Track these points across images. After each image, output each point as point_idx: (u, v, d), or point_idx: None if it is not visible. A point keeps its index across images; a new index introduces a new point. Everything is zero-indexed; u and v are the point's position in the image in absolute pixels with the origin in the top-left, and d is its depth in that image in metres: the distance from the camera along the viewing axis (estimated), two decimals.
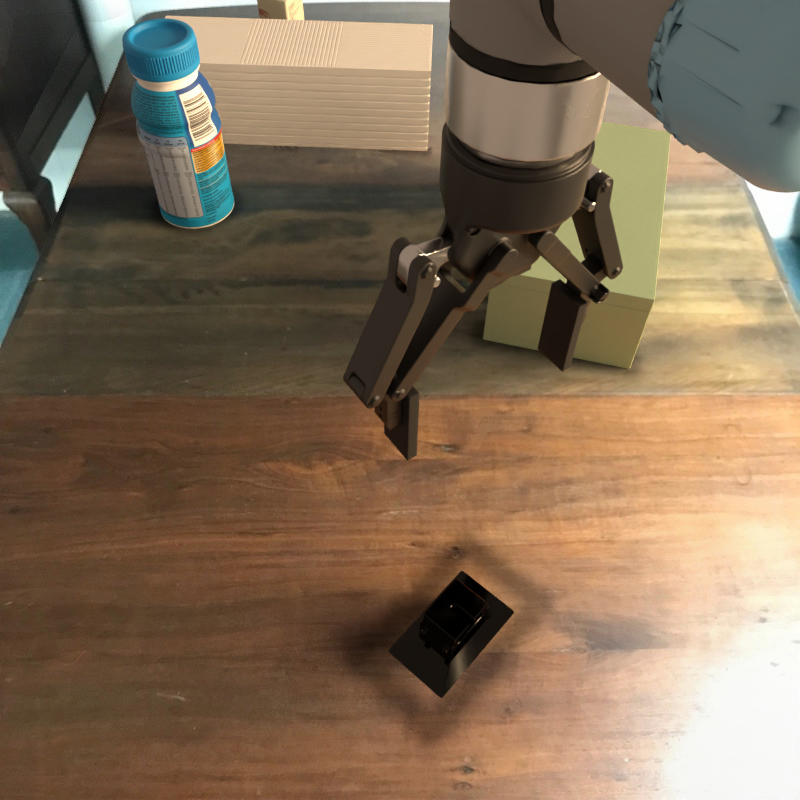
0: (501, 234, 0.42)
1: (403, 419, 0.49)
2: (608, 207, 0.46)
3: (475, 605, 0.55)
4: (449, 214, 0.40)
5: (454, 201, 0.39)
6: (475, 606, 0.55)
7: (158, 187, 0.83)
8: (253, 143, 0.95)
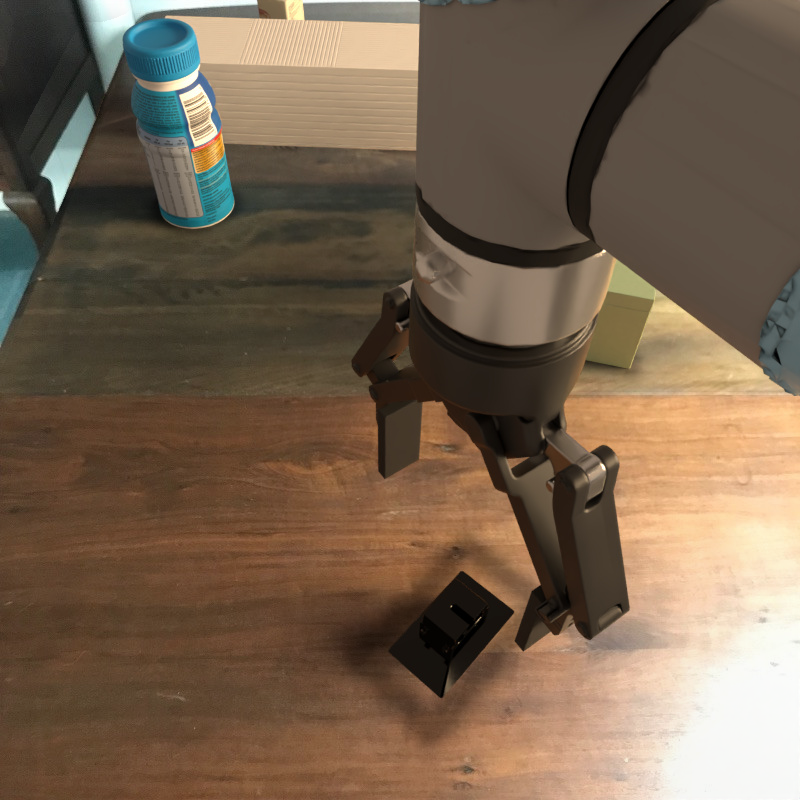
0: None
1: None
2: None
3: (475, 605, 0.55)
4: (546, 412, 0.32)
5: (556, 393, 0.31)
6: (475, 606, 0.55)
7: (158, 187, 0.83)
8: (253, 143, 0.95)
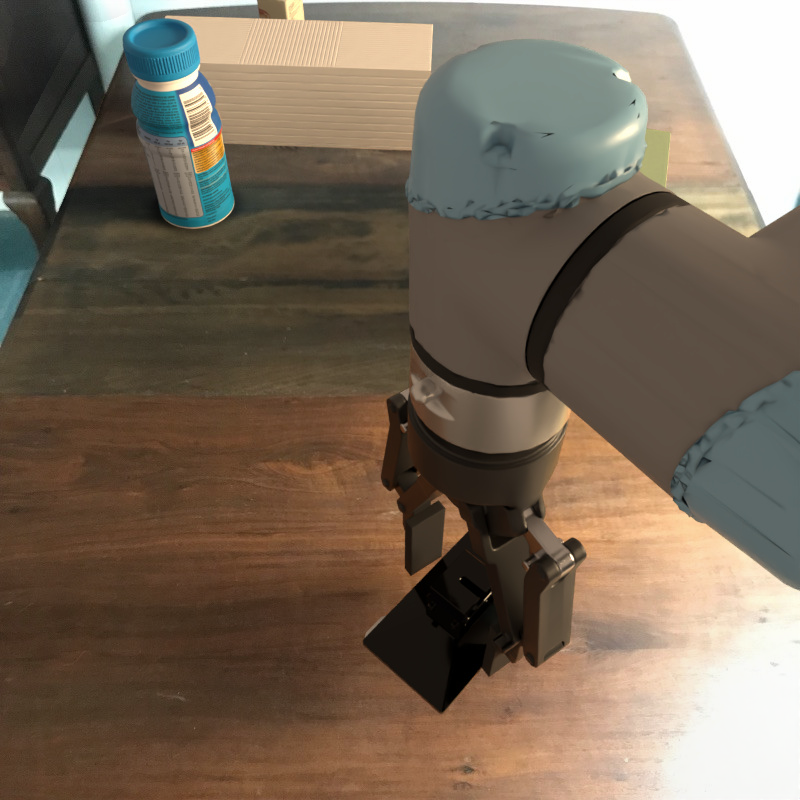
0: None
1: None
2: None
3: (486, 578, 0.51)
4: (526, 501, 0.37)
5: (533, 486, 0.37)
6: (486, 579, 0.51)
7: (158, 187, 0.83)
8: (253, 143, 0.95)
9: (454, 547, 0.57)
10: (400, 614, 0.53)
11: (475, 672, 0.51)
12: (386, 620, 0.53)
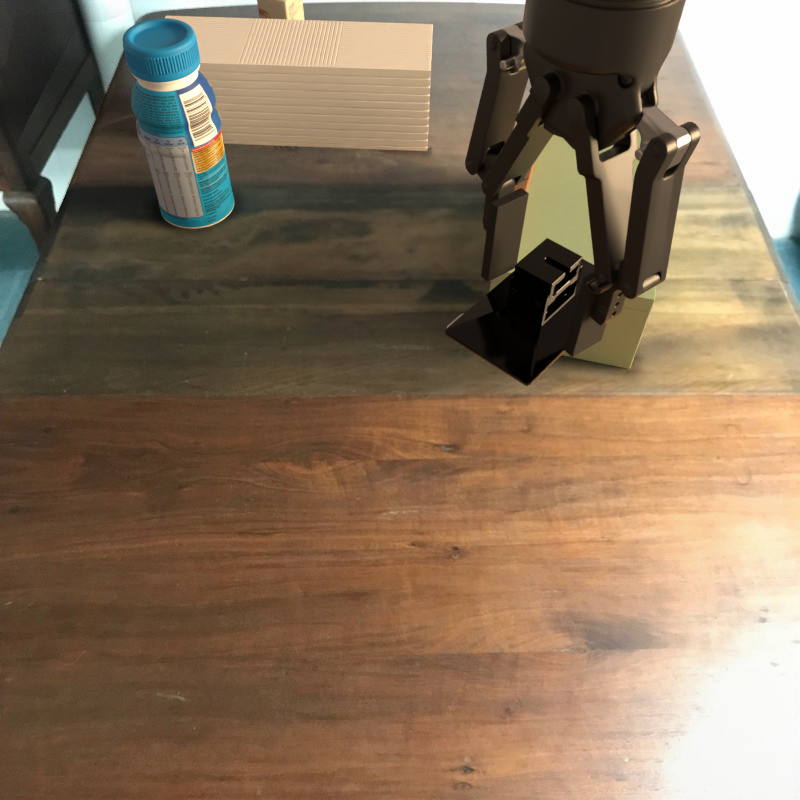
0: None
1: None
2: None
3: (570, 258, 0.52)
4: (645, 74, 0.38)
5: (654, 53, 0.37)
6: (570, 259, 0.51)
7: (158, 187, 0.83)
8: (253, 143, 0.95)
9: None
10: (480, 309, 0.54)
11: (558, 353, 0.52)
12: (467, 314, 0.54)
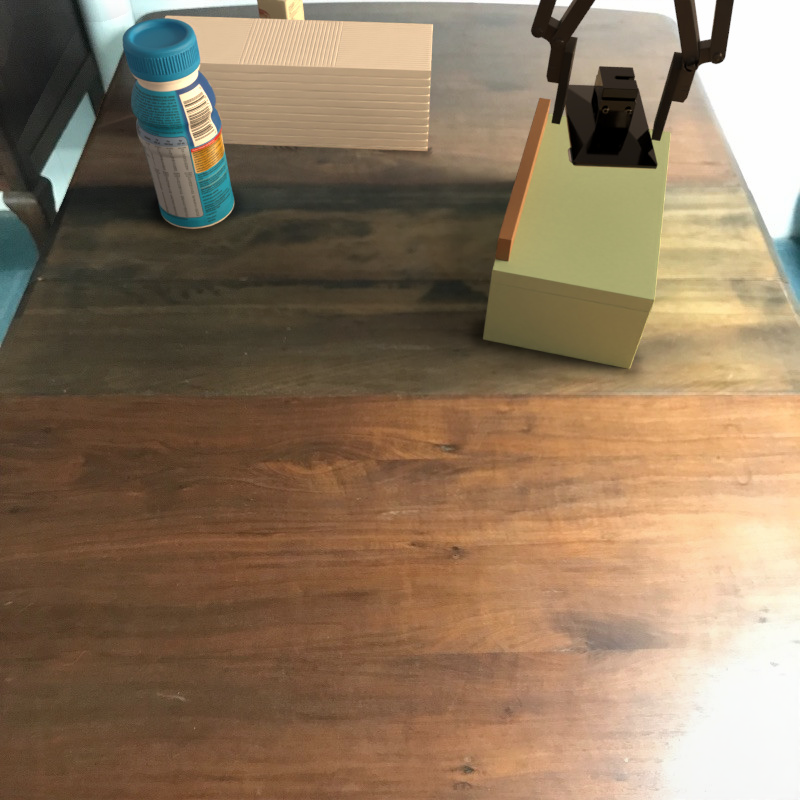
0: None
1: None
2: None
3: (627, 71, 0.67)
4: None
5: None
6: (628, 71, 0.67)
7: (158, 187, 0.83)
8: (253, 143, 0.95)
9: (566, 100, 0.72)
10: (579, 139, 0.68)
11: (651, 142, 0.68)
12: (574, 146, 0.67)
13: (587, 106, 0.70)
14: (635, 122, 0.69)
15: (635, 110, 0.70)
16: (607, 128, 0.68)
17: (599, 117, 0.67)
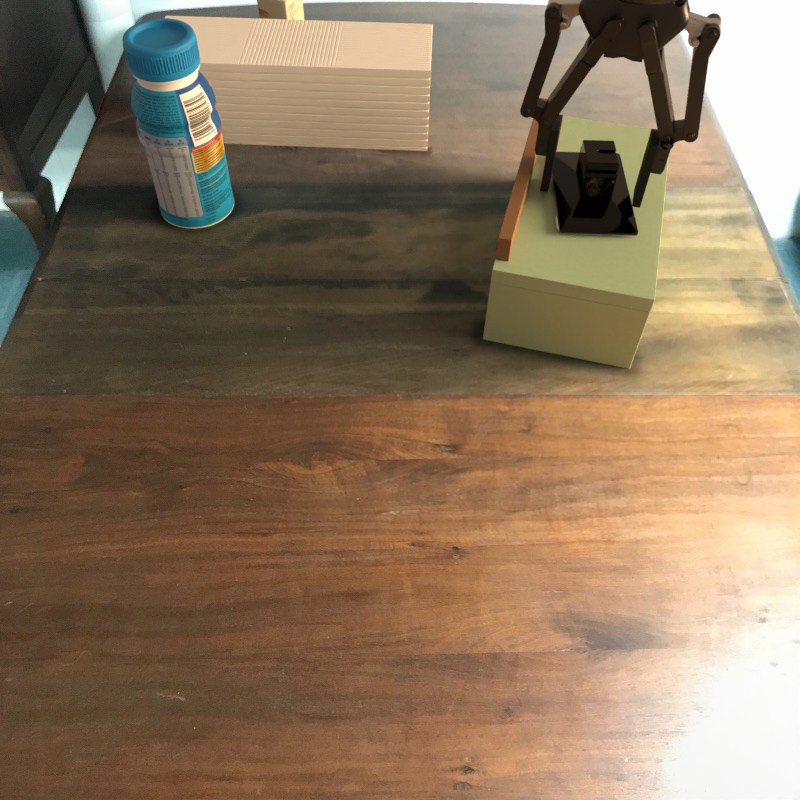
0: None
1: None
2: None
3: (609, 144, 0.73)
4: None
5: None
6: (609, 145, 0.73)
7: (158, 187, 0.83)
8: (253, 143, 0.95)
9: (553, 168, 0.77)
10: (565, 207, 0.73)
11: (632, 209, 0.73)
12: (561, 215, 0.73)
13: (572, 174, 0.76)
14: (617, 190, 0.75)
15: (617, 177, 0.76)
16: (591, 197, 0.73)
17: (584, 187, 0.73)
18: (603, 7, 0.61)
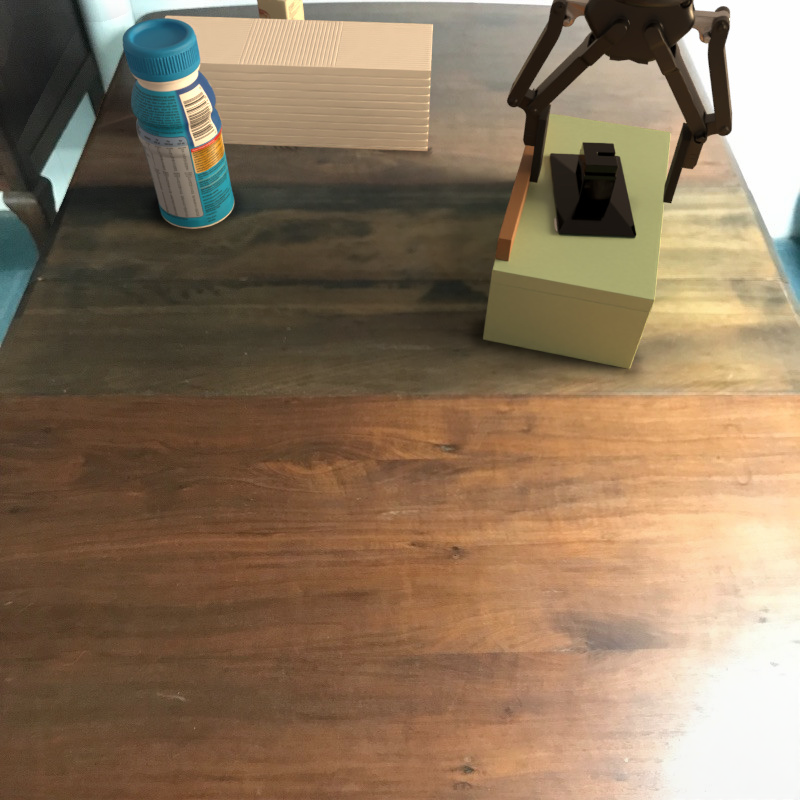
0: None
1: None
2: None
3: (608, 147, 0.73)
4: None
5: None
6: (609, 147, 0.73)
7: (158, 187, 0.83)
8: (253, 143, 0.95)
9: (553, 169, 0.78)
10: (564, 209, 0.73)
11: (630, 211, 0.74)
12: (560, 216, 0.73)
13: (572, 176, 0.76)
14: (616, 192, 0.75)
15: (616, 180, 0.76)
16: (590, 199, 0.74)
17: (582, 190, 0.73)
18: (608, 10, 0.62)
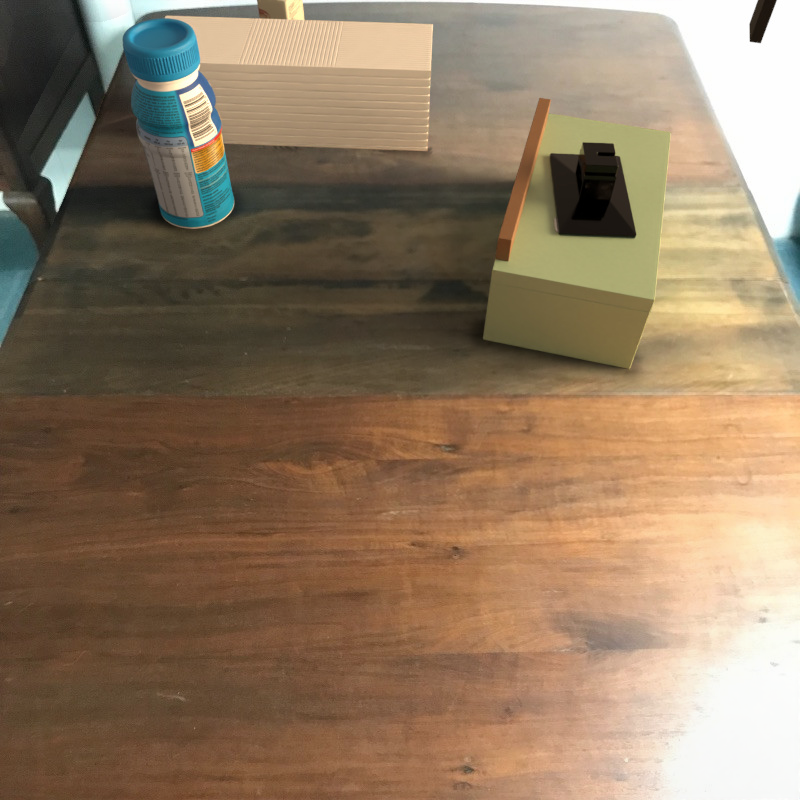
0: None
1: None
2: None
3: (608, 147, 0.73)
4: None
5: None
6: (609, 147, 0.73)
7: (158, 187, 0.83)
8: (253, 143, 0.95)
9: (553, 169, 0.78)
10: (564, 209, 0.73)
11: (630, 211, 0.74)
12: (560, 217, 0.73)
13: (572, 176, 0.76)
14: (616, 192, 0.75)
15: (616, 180, 0.76)
16: (590, 199, 0.74)
17: (582, 190, 0.73)
18: None
